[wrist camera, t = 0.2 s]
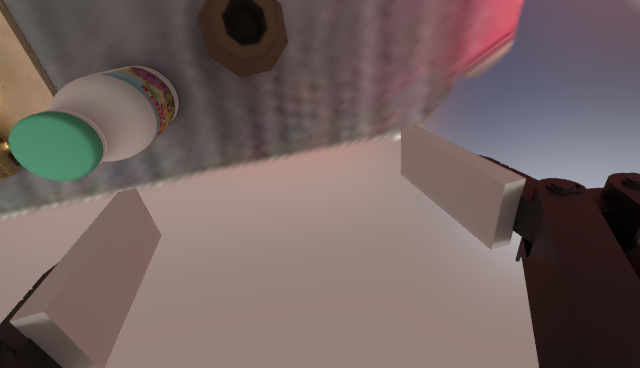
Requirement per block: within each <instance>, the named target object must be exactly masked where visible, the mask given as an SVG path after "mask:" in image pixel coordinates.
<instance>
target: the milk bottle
mask: <svg viewBox="0 0 640 368" xmlns="http://www.w3.org/2000/svg"><path fill="white" fill-rule="evenodd" d="M178 107H179V100H178V96H177V93H176V90H175V88H174V87H173V85H172V84H171V83H170V81H169V80H168V79H167V78H166V77H165V76H163V75H162V74H161V73H159V72H157V71H156V70H154V69H151V68H148V67H144V66H128V67H122V68H117V69H112V70H108V71H103V72H99V73H94V74H90V75H87V76H84V77H81V78H78V79H75V80H73V81H72V82H70V83H68V84H66V85H65V86H64V87H63V88H62V89H60V90H59V91H58V92H57V94H56V95H55V97H54V98H53V100H52V102H51V104H50V108H49V110H45V111H42V112H40V113H36V114H33V115H30V116H28V117H25V118H23V119H21V120H20V121H18V122H17V123H16V124H15V125H14V127H13V128H12V129H11V131H10V134H9V147H10V150H11V152H12V154H13V155H14V157H15V158H16V160H17V161H18V162H19V163H20V164H21V165H22V166H23V167H25V168H26V169H27V170H29V171H30V172H32V173H34V174H36V175H38V176H40V177H43V178H46V179H50V180H55V181H71V180H75V179H79V178H81V177H84V176H86V175H87V174H89V173H90V172H91V171H93V170H94V169H95V168H96V167H97V166H98V165H100V164H101V163H102V162H103V161H118V160H123V159H126V158H129V157H132V156H134V155H136V154H138V153H139V152H141V151H142V150H144V149H145V148H146V147H147V146H148V145H150V144H151V143H152V142H153V141H154V140H155V139H156V138H157V137H158V136H159V135H160V134H161V133H162V132H163V130H164V129H165V128H166V127H167V126H168V125H169V124H170V123H171V122H172V120H173V119H174V118H175V116H176V114H177V112H178Z"/></svg>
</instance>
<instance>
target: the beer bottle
mask: <svg viewBox="0 0 640 368" xmlns="http://www.w3.org/2000/svg"><path fill="white" fill-rule="evenodd" d="M197 19H198V22H199V25H200V28H201V31H202V35H203V38H204V41H205V44H206V47H207V50H208V54H209V56H210V57H211V58H213V59H214V60H216V61H217V62H219V63H220V64H222V65H223V66H225V67H226V68H228V69H229V70H231V71H232V72H234V73H235V74H237V75H238V76H245V75H250V74H256V73H261V72H266V71H271V70H272V68H273V66H274V65H275V63H276V61H277V60H278V58H279V56H280V55H281V53H282V51H283V50H284V48H285V46H286V45H287V43H288V40H287V35H286V30H285V24H284V19H283V13H282V8H281V4H280V3H278V2H277V1H276V0H206V1H205V3H204V5H203V7H202V9H201V11H200V13H199V15H198V17H197Z"/></svg>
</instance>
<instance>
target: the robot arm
mask: <svg viewBox="0 0 640 368" xmlns="http://www.w3.org/2000/svg"><path fill="white" fill-rule="evenodd" d="M401 174H402V175H403V176H404V177H405V178H406V179H408V180H409V181H410V182H411V183H412V184H413V185H415V186H416V187H417V188H418V189H419V190H421V191H422V192H423V193H424V194H425V195H427V196H428V197H429V198H430V199H431V200H433V201H434V202H435V203H436V204H437V205H439V206H440V207H441V208H442V209H443V210H445V211H446V212H447V213H448V214H449V215H450V216H452V217H453V218H454V219H455V220H456V221H458V222H459V223H460V224H461V225H462V226H463V227H465V228H466V229H467V230H468V231H470V232H471V233H472V234H473V235H475V237H477V238H478V239H479V240H480V241H481V242H483V243H484V244H485V245H486V246H487V247H489V248H490V249H491V250H492V249H496V248H499V247H502V246H505V245H508V244H510V240H511V236H512V232H513V231H515V232H516V233H518V234H519V235H520V236H522V238H521V242H520V245H519V249H518V253H517V257H516V261H519V260H520V258H521V257H522V262H523V268H524V275H525V281H526V287H527V294H528V300H529V306H530V313H531V319H532V325H533V331H534V337H535V344H536V350H537V357H538V362H539V368H640V174H638V173H616V174H612V175H610V176H609V177H608V179H607V181H606V184H605V186H604V188H591V189H586V188H585V187H584V186H583V185H580V184H579V183H576V182H573V181H569V180H566V179H558V178H547V179H542V180H540V181H539V180H536V179H534V178H532V177H530V176H528V175H526V174H524V173H522V172H519V171H517V170H515V169H513V168H509V166H507V165H504V164H501V163H500V162H498V161H496V160H494V159H492V158H489V157H485V156H481V155H476V154H474V153H472V152H470V151H468V150H466V149H464V148H462V147H460V146H458V145H456V144H454V143H452V142H450V141H448V140H445V139H443V138H441V137H439V136H437V135H435V134H433V133H431V132H429V131H427V130H425V129H423V128H421V127H419V126H416V125H410V126H406V127H401ZM160 237H161V233H160V232H159V230H158V228H157V226H156V224H155V223H154V221H153V219H152V217H151V215H150V213H149V212H148V210H147V208H146V206H145V204H144V202H143V201H142V199H141V197H140V195H139V193H138V192H137V190H136V188H135V189H131V190H127V191H122V192H118V193H117V194H116V195H115V196H114V198H113V199H112V200H111V201H110V202H109V204H108V205H107V206H106V207H105V208H104V210H103V211H102V212H101V213H100V214H99V216H98V217H97V218H96V219H95V220H94V221H93V223H92V224H91V225H90V226H89V227H88V229H87V230H86V231H85V232H84V233H83V235H82V236H81V237H80V238H79V239H78V241H77V242H76V243H75V244H74V245H73V246H72V247H71V249H70V250H69V251H68V252H67V253H66V255H65V256H64V257H63V258H62V259H61V261H60V262H59V263H58V264H56V265H55V266H54V267H52V268H51V269H50V270H49V271H47V272H46V273H45V274H43V275H42V276H41V278H40V279H39V280H38V281H37V282H36V283H35V285H34V286H33V287H32V288H33V289H31V290H29V291H28V293H27V294H26V295H25V296H24V297H23V300H21V301H20V302H19V303H18V304H17V305H16V306H15V308H14V309H13V310H12V311H11V312H10V313H9V315H8V316H7V317H6V318H5V319H4V320H3V322H2V323H1V324H0V368H104V367H105V365H106V363H107V361H108V358H109V356H110V354H111V351H112V349H113V347H114V344H115V342H116V339H117V337H118V335H119V333H120V330H121V328H122V326H123V323H124V321H125V319H126V316H127V314H128V312H129V309H130V307H131V305H132V303H133V300H134V298H135V296H136V293H137V291H138V288H139V286H140V284H141V281H142V279H143V277H144V275H145V272H146V270H147V268H148V265H149V263H150V261H151V258H152V256H153V254H154V251H155V249H156V247H157V244H158V242H159V240H160Z"/></svg>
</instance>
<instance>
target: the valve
mask: <svg viewBox="0 0 640 368" xmlns="http://www.w3.org/2000/svg"><path fill="white" fill-rule="evenodd" d="M56 94H57V91H56V89H55V87H54V86H53V84H52V82H51V81H50V79H49V77H48V76H47V74H46V72H45V71H44V69H43V67H42V66H41V64H40V62H39V61H38V59H37V57H36V56H35V54H34V52H33V51H32V49H31V48H30V46H29V44H28V43H27V41H26V39H25V38H24V36H23V34H22V33H21V31H20V29H19V28H18V26H17V24H16V23H15V21H14V19H13V18H12V16H11V14H10V13H9V11H8V9H7V8H6V6H5V5H4V3H3V1H2V0H0V180H2V179H5V178H8V177H10V176H12V175H14V174H16V173H18V172H19V171H20V170H19V168H18V167H17V166H16V164H15V163H14V162H13V161H12V159H11V158H10V157H9V155H8V154H10V153H12V152H11V150H10V147H9V134H10V131H11V129H12V128H13V127H14V125H15V124H16V123H17V122H18V121H20V120H21V119H23V118H25V117H28V116H30V115H33V114H36V113H40V112H42V111H45V110H49V108H50V104H51V102H52V100H53V98H54V97H55V95H56Z"/></svg>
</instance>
